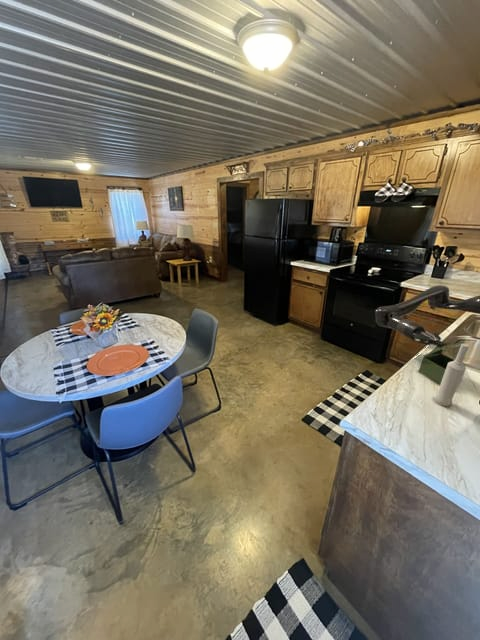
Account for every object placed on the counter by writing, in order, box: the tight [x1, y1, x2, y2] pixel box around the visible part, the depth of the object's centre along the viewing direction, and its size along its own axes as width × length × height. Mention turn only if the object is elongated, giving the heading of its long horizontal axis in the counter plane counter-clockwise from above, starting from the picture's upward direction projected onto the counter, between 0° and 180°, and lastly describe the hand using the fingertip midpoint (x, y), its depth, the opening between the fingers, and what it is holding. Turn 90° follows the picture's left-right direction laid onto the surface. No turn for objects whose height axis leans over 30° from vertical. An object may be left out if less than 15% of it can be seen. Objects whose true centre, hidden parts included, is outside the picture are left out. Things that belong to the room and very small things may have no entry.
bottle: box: [434, 343, 470, 407], centre depth 95 cm, size 5×5×25 cm
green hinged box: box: [418, 353, 466, 386], centre depth 114 cm, size 10×11×8 cm
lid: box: [422, 341, 465, 358], centre depth 112 cm, size 11×11×1 cm
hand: (445, 346), depth 111 cm, fingers closed
